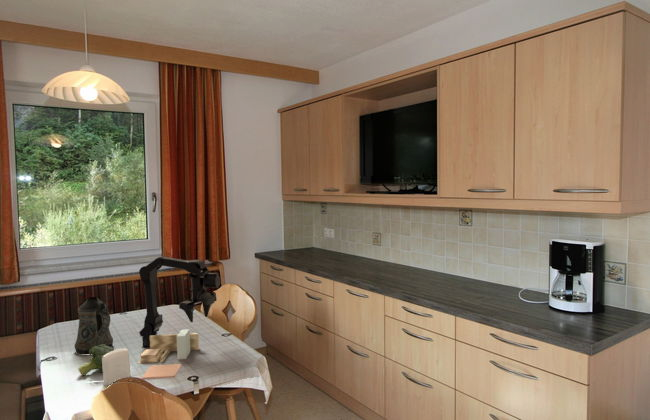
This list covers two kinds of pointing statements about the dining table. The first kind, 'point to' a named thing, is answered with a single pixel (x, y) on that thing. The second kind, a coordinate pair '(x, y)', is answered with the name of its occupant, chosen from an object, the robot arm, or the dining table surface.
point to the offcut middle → (151, 358)
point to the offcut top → (150, 353)
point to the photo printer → (115, 365)
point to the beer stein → (93, 326)
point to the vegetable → (95, 359)
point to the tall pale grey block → (183, 344)
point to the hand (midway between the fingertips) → (199, 319)
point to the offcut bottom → (151, 362)
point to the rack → (171, 343)
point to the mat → (161, 371)
